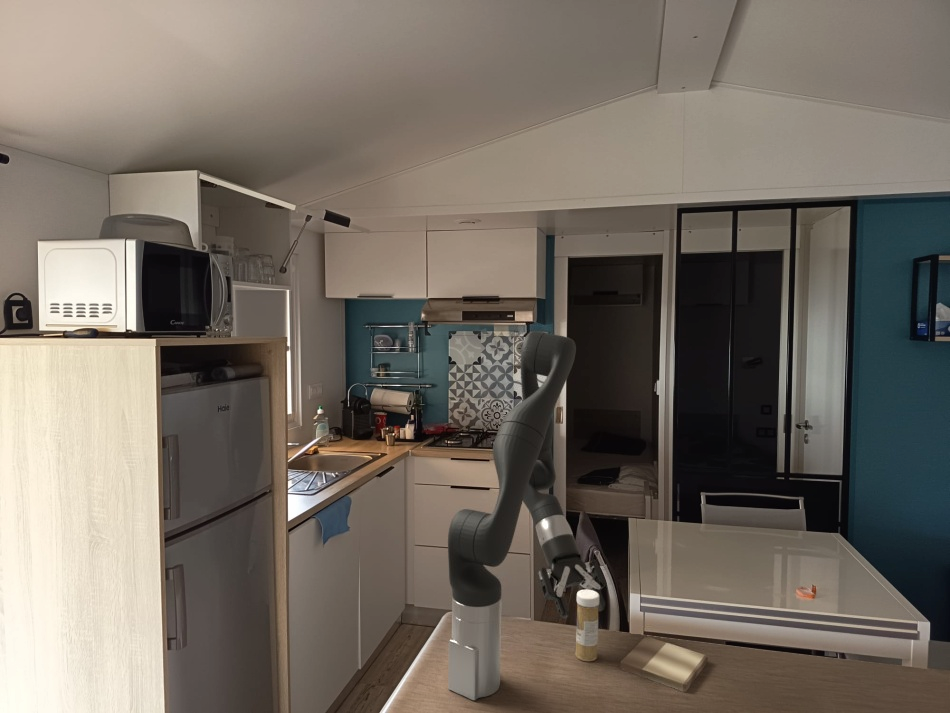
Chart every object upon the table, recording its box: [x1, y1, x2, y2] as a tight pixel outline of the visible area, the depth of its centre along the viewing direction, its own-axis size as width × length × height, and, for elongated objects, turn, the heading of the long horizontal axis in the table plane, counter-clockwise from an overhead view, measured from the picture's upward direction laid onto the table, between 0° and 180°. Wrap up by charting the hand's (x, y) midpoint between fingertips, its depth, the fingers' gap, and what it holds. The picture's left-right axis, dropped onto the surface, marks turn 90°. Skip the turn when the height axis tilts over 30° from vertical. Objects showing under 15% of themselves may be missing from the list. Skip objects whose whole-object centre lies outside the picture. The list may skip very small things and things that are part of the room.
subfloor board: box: [620, 635, 708, 693], centre depth 132 cm, size 13×13×2 cm
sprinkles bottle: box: [574, 588, 599, 662], centre depth 135 cm, size 5×5×13 cm
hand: (584, 613), depth 136 cm, fingers open, 8 cm apart
